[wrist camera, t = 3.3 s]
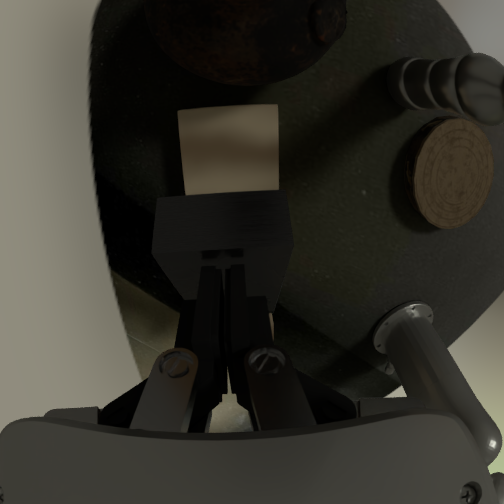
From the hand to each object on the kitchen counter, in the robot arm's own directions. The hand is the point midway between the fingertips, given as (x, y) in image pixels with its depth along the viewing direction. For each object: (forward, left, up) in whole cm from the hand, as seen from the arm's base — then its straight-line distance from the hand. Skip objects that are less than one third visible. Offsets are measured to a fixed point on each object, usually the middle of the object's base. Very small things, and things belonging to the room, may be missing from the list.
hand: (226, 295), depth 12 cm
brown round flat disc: (-1, -30, -25) cm, 39 cm away
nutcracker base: (-6, 0, -24) cm, 25 cm away
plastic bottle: (+10, -21, -24) cm, 34 cm away
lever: (-5, 0, -9) cm, 10 cm away
